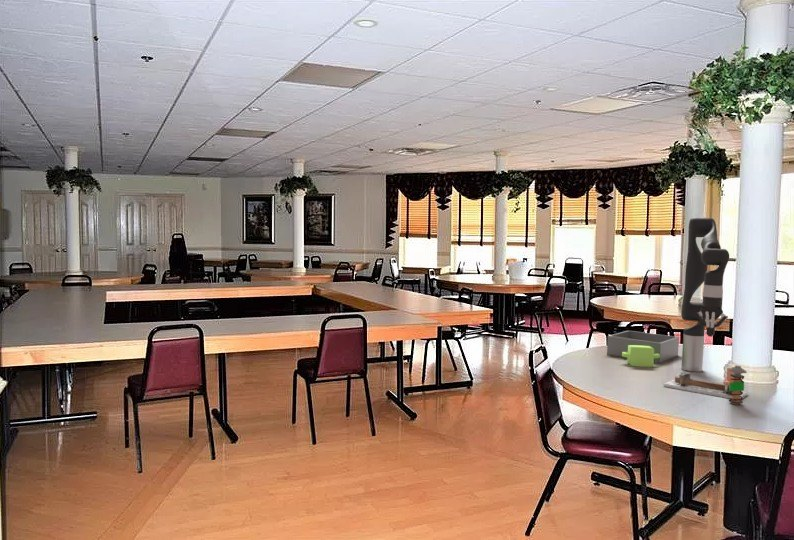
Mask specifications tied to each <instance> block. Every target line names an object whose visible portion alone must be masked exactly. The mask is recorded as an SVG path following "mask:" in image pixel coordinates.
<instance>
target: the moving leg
mask: <svg viewBox="0 0 794 540" xmlns="http://www.w3.org/2000/svg"><path fill="white" fill-rule="evenodd" d="M731 368H733V367H732V366H728V367H726V378H725V379H724V382H723V384H725V392H727V386H729V385H730V383H733V380H731V378H733V377H732V376H730V375H731V374H734V373H733V372H730V371H729V369H731Z"/></svg>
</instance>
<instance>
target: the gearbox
mask: <svg viewBox="0 0 794 540" xmlns="http://www.w3.org/2000/svg"><path fill="white" fill-rule="evenodd" d="M622 356H623V357H622V358H627V361H626V362H627V364H629V366H631V367H641V368H642V367H643V368H644V367H645V368H652V367H654V363H655V362H654V358H659V357H660V355H659V354H654V348H652V347H650V346H641V345H628V352H622Z"/></svg>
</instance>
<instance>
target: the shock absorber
mask: <svg viewBox="0 0 794 540" xmlns="http://www.w3.org/2000/svg"><path fill="white" fill-rule="evenodd" d="M729 371H730V372H733V373H734V374H731V375H730V376H732V377H733V378H731V380H733V383H730V385H729V391H733V392H732V394H731V393H730V395H732V399H730V398H728V399H729V400H728V401H729V402H730V403H731V404H732V405H737V406H739V405H740V404H743V403H744V402H743V401H742V400H743V399H744V398H742V397H741V396H740V395H742V394H743V392H742V391H744V392H745V381H744V379H745V376H744V375H742V374H747V373H748V372H747V370H745V369H744V368H743V367H742V366H741V365H735V366H734V367H733V368H731V369H729ZM740 392H741V394H740ZM740 397H741V399H740Z"/></svg>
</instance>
